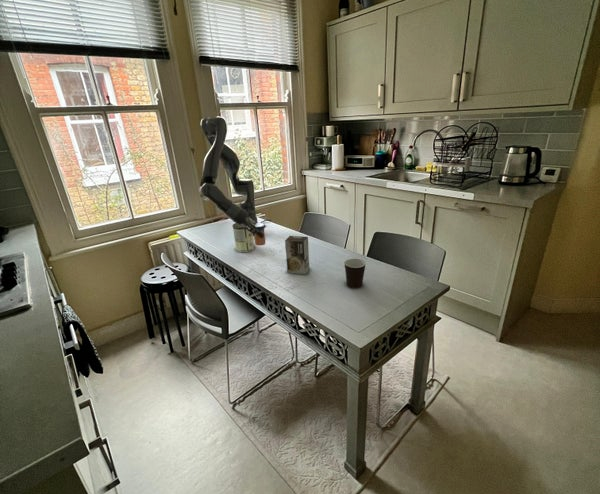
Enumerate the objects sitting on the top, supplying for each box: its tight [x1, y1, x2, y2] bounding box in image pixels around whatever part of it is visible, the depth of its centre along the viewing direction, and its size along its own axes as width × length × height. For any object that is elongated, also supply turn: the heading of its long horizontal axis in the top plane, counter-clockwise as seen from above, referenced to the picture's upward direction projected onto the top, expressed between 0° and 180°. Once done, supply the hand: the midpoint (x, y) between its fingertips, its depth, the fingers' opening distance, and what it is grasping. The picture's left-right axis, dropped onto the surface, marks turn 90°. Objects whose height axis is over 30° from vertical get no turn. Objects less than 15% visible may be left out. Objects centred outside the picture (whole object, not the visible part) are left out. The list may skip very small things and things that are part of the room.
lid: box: [254, 222, 266, 230], centre depth 157 cm, size 6×6×2 cm
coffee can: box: [232, 222, 255, 253], centre depth 172 cm, size 10×10×14 cm
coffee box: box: [284, 235, 310, 275], centre depth 143 cm, size 9×6×16 cm
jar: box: [253, 228, 267, 247], centre depth 159 cm, size 5×5×10 cm
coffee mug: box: [343, 258, 366, 289], centre depth 132 cm, size 12×9×10 cm
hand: (262, 234), depth 159 cm, fingers closed on jar, lid, 5 cm apart
